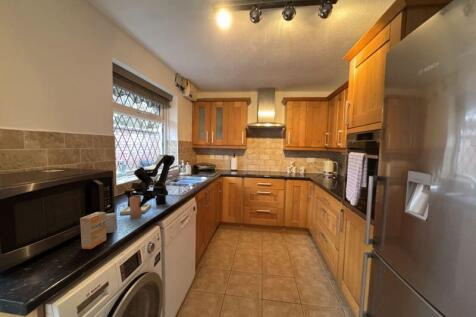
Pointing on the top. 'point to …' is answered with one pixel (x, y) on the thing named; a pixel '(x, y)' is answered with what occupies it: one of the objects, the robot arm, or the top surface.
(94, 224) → the supplement box
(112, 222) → the medicine box
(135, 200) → the reddish-brown tall piece
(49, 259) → the top surface
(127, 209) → the tray
